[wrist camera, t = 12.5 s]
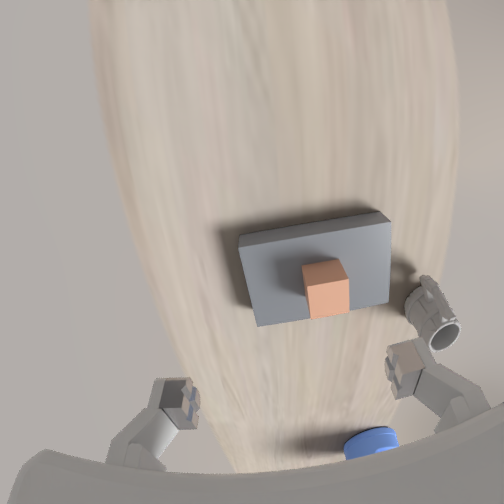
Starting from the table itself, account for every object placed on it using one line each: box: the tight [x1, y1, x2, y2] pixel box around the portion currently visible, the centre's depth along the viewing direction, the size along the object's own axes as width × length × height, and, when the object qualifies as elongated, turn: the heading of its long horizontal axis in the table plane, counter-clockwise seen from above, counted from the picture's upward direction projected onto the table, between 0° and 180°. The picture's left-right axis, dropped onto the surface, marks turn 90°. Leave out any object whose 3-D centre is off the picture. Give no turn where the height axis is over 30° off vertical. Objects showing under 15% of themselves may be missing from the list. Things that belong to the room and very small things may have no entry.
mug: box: [404, 275, 461, 352], centre depth 41 cm, size 8×12×12 cm, turn 22°
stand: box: [238, 212, 391, 327], centre depth 42 cm, size 13×20×4 cm, turn 101°
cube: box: [302, 259, 349, 319], centre depth 38 cm, size 5×5×5 cm
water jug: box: [344, 427, 399, 460], centre depth 57 cm, size 16×16×28 cm
